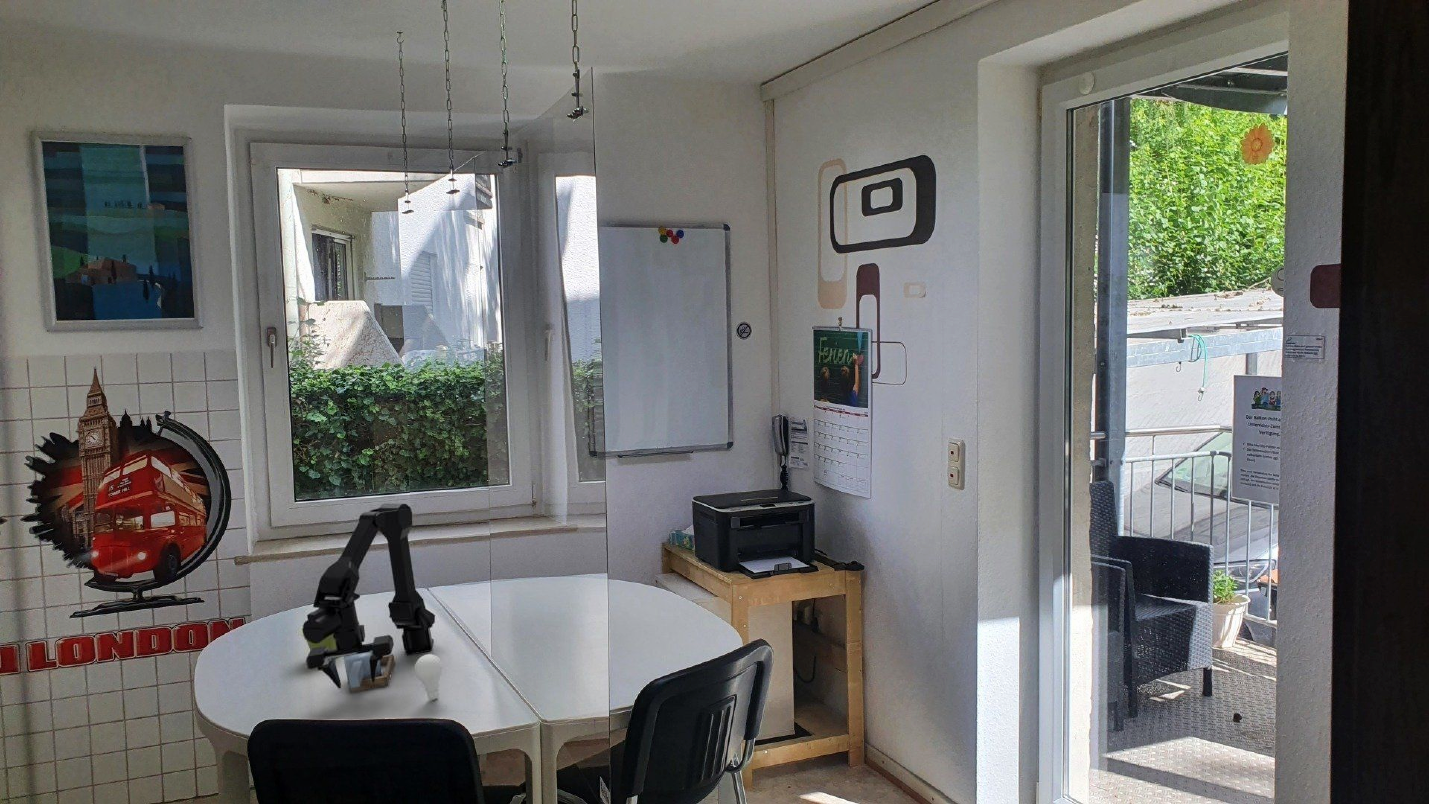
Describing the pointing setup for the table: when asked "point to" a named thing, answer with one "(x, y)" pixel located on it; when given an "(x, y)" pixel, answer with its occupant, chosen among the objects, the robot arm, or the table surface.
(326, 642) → the plant pot
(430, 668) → the lightbulb
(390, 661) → the holder
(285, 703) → the table surface
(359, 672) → the blue scoop
